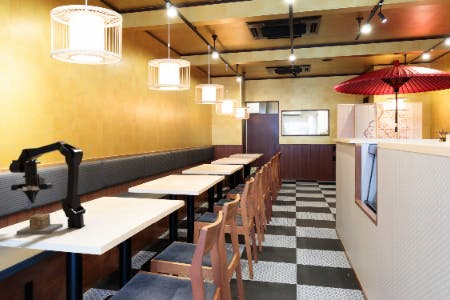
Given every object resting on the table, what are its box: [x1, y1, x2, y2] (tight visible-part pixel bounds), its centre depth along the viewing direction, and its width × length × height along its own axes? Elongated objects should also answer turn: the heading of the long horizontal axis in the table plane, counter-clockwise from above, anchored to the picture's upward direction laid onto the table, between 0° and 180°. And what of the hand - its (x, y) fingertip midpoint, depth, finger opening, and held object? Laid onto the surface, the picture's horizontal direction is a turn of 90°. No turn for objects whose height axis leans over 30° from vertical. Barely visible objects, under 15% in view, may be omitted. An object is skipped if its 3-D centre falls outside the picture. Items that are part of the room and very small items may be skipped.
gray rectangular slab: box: [16, 223, 64, 235], centre depth 166 cm, size 16×12×2 cm
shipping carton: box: [28, 213, 51, 229], centre depth 166 cm, size 6×6×6 cm
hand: (32, 203), depth 174 cm, fingers closed
